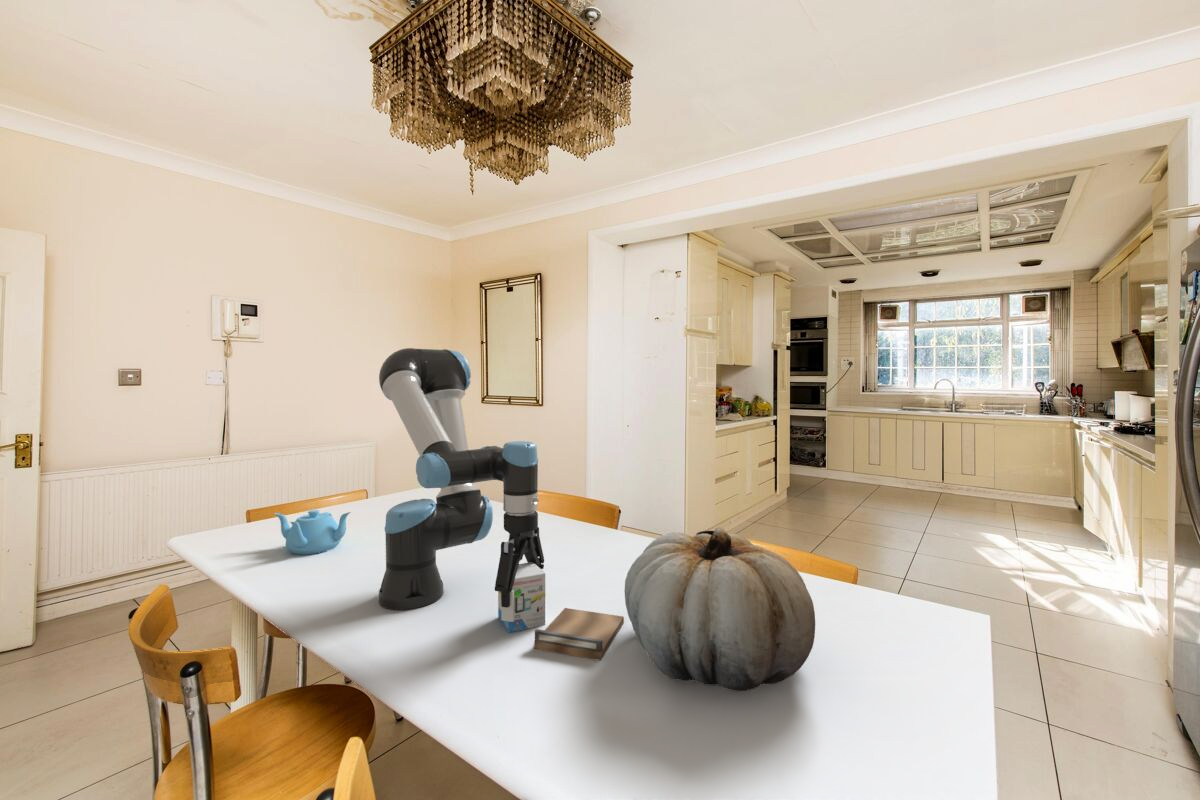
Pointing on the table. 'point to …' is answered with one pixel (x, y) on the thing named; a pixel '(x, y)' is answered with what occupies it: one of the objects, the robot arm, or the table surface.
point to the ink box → (527, 598)
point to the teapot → (312, 532)
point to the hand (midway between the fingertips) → (521, 608)
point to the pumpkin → (719, 610)
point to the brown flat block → (579, 633)
